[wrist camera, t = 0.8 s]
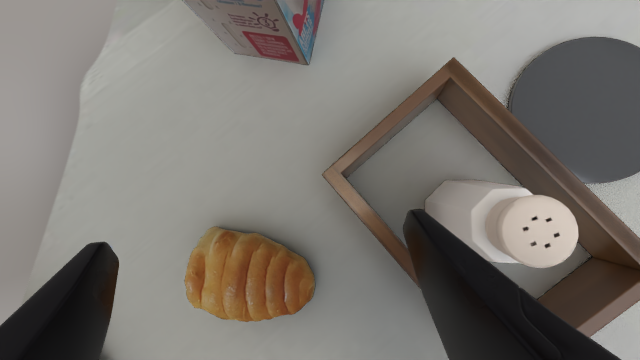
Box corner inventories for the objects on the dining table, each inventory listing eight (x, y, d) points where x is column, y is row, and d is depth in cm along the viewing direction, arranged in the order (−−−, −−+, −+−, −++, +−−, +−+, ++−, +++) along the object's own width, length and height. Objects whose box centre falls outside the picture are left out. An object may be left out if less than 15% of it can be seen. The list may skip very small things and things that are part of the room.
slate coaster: (708, 114, 20) (718, 111, 20) (582, 213, 21) (588, 214, 21) (590, 11, 22) (596, 6, 21) (476, 109, 23) (479, 106, 22)
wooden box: (612, 257, 21) (677, 273, 16) (484, 354, 22) (512, 395, 17) (438, 82, 23) (453, 56, 19) (330, 178, 24) (321, 174, 20)
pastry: (322, 239, 24) (312, 247, 20) (312, 326, 24) (300, 351, 20) (211, 223, 26) (183, 228, 22) (201, 304, 26) (172, 324, 22)
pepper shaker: (515, 235, 22) (653, 274, 11) (441, 263, 23) (503, 325, 12) (480, 165, 23) (579, 137, 12) (409, 194, 23) (441, 194, 12)
